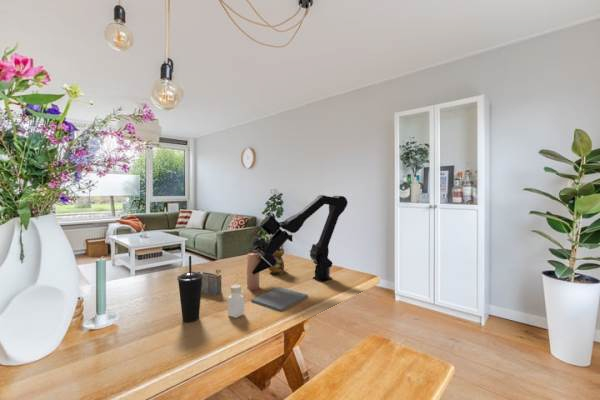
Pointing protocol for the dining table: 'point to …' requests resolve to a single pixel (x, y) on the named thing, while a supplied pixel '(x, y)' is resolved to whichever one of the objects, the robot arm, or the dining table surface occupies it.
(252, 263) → the wooden peg
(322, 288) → the dining table surface
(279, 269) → the decorative figurine
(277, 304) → the rubber mat
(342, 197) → the robot arm
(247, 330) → the dining table surface
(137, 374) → the dining table surface
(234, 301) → the pepper shaker
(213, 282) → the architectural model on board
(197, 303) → the drinking cup
